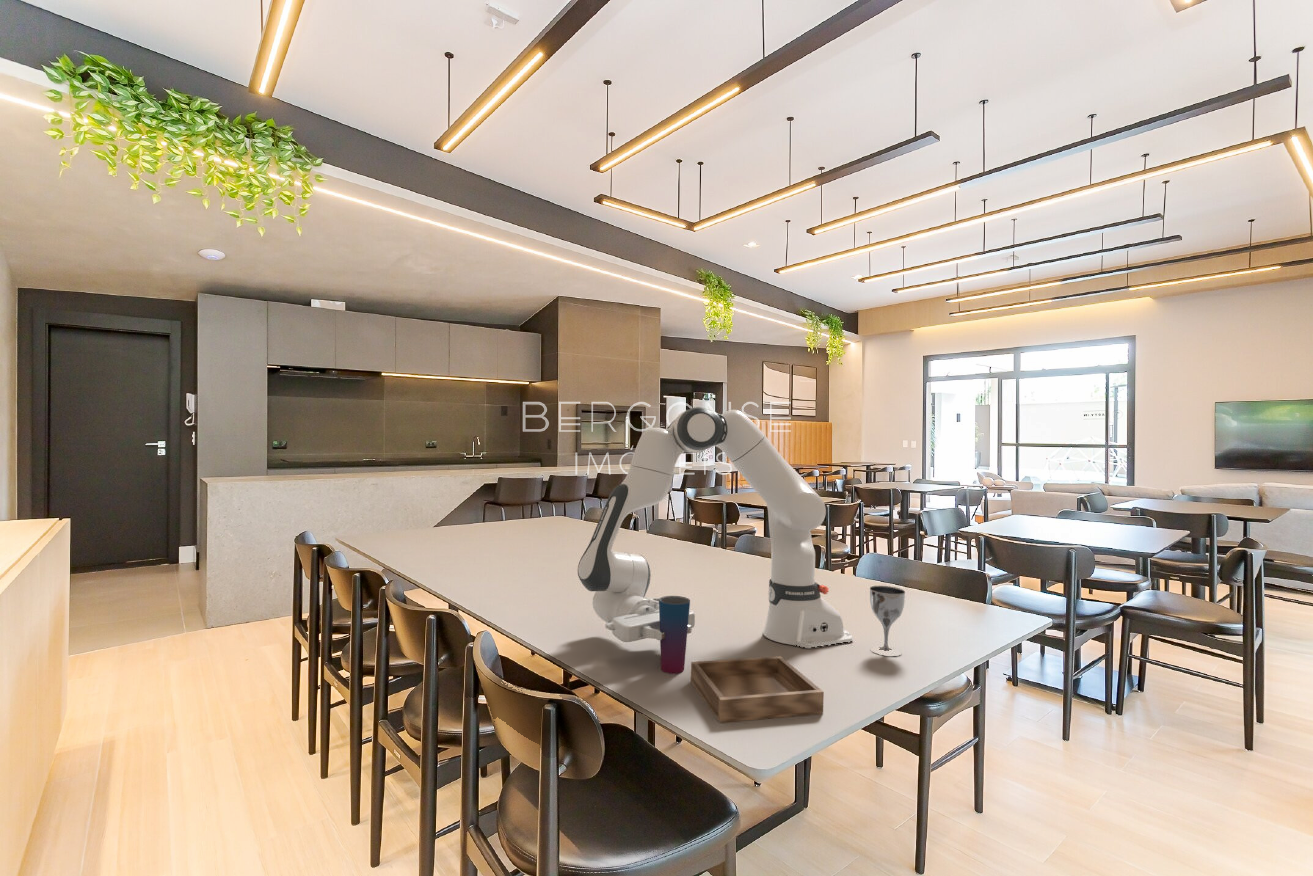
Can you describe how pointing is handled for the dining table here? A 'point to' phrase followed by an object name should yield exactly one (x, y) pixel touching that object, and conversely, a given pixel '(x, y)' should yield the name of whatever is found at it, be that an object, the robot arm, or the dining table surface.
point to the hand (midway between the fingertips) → (676, 633)
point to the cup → (673, 632)
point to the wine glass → (887, 607)
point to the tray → (755, 689)
